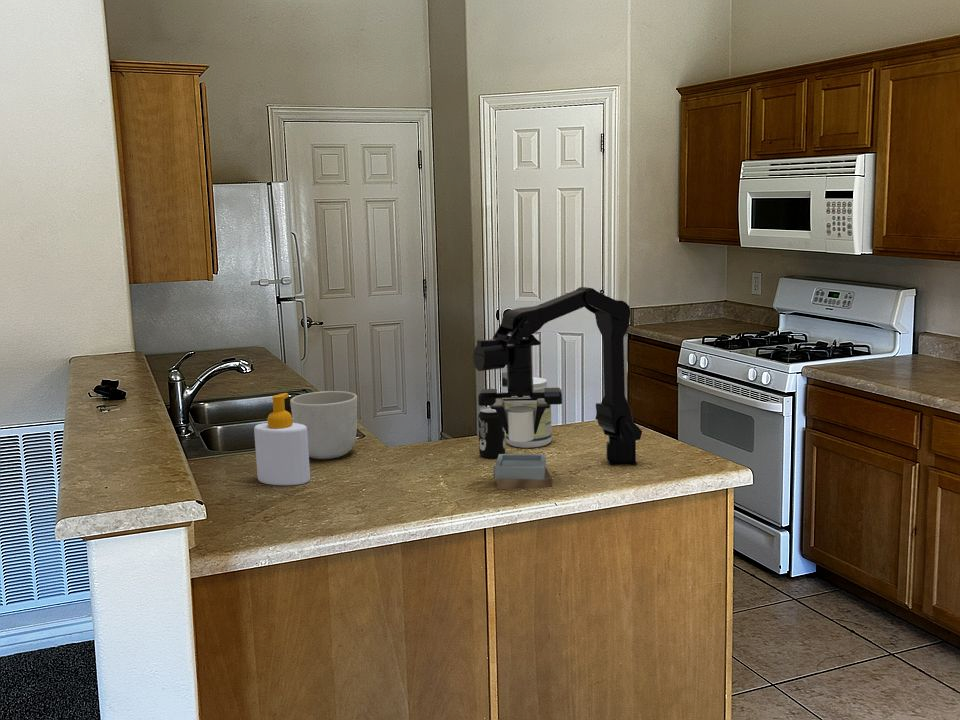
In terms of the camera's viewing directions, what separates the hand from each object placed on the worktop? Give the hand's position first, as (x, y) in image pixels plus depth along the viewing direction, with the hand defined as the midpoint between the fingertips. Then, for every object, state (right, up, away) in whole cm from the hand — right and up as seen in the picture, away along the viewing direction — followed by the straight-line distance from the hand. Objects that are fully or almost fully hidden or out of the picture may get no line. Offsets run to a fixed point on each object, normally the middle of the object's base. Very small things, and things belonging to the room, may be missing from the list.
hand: (521, 433), depth 203 cm
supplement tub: (+4, -6, +34) cm, 35 cm away
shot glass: (0, -1, 0) cm, 1 cm away
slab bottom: (0, -11, +2) cm, 12 cm away
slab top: (0, -9, +2) cm, 9 cm away
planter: (-49, -8, +28) cm, 57 cm away
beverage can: (-6, -8, +23) cm, 25 cm away
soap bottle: (-56, -12, +7) cm, 57 cm away
